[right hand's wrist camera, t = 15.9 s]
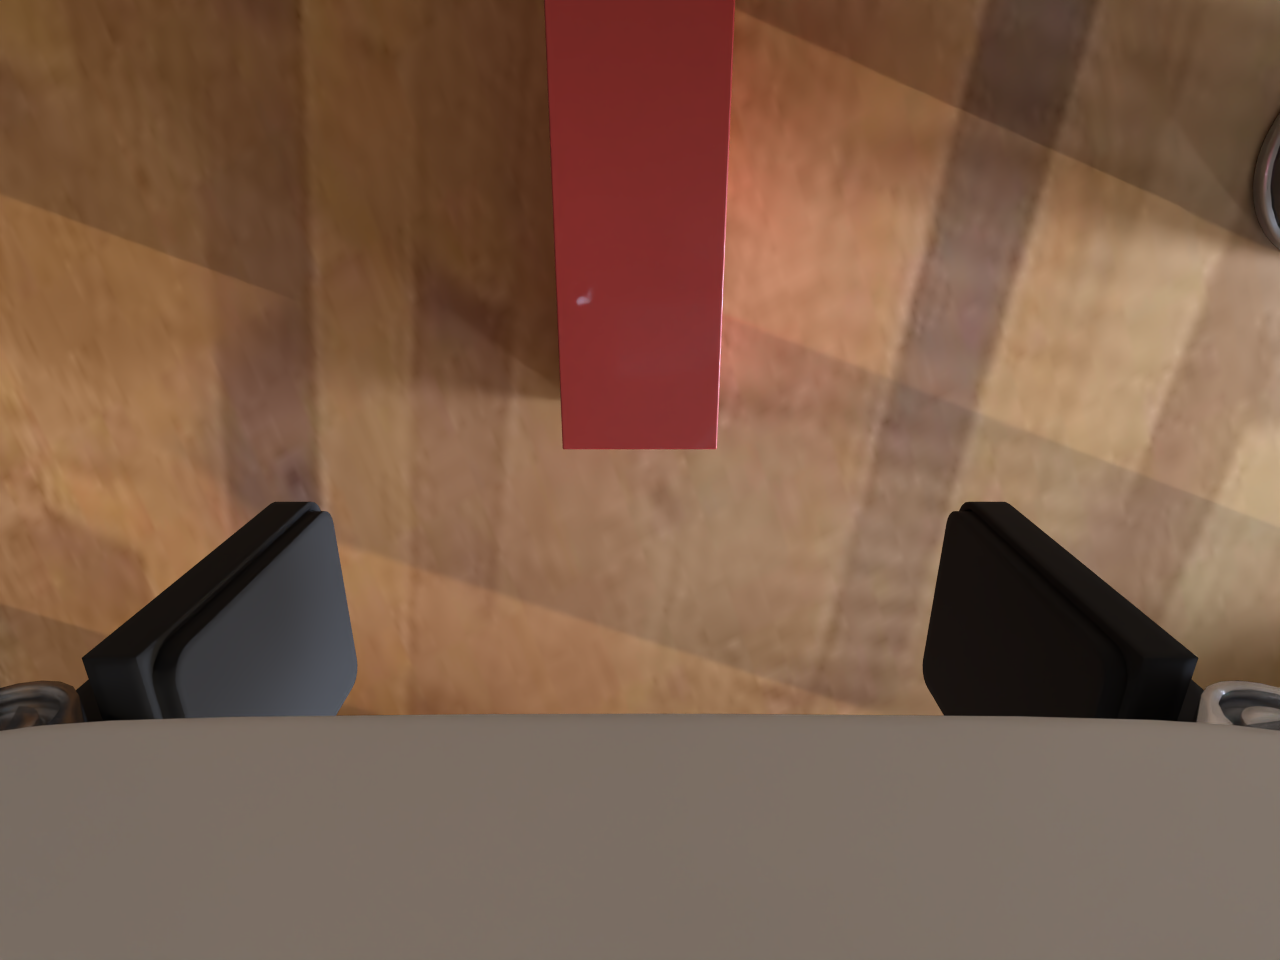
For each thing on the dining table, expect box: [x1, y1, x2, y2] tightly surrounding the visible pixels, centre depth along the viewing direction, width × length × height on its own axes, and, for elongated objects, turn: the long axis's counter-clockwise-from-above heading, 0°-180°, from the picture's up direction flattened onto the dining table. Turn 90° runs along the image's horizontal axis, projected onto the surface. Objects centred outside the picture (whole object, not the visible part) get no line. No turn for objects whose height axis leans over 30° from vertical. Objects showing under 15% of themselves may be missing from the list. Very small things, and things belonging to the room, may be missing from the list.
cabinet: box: [544, 0, 735, 449], centre depth 30 cm, size 20×7×8 cm, turn 0°
